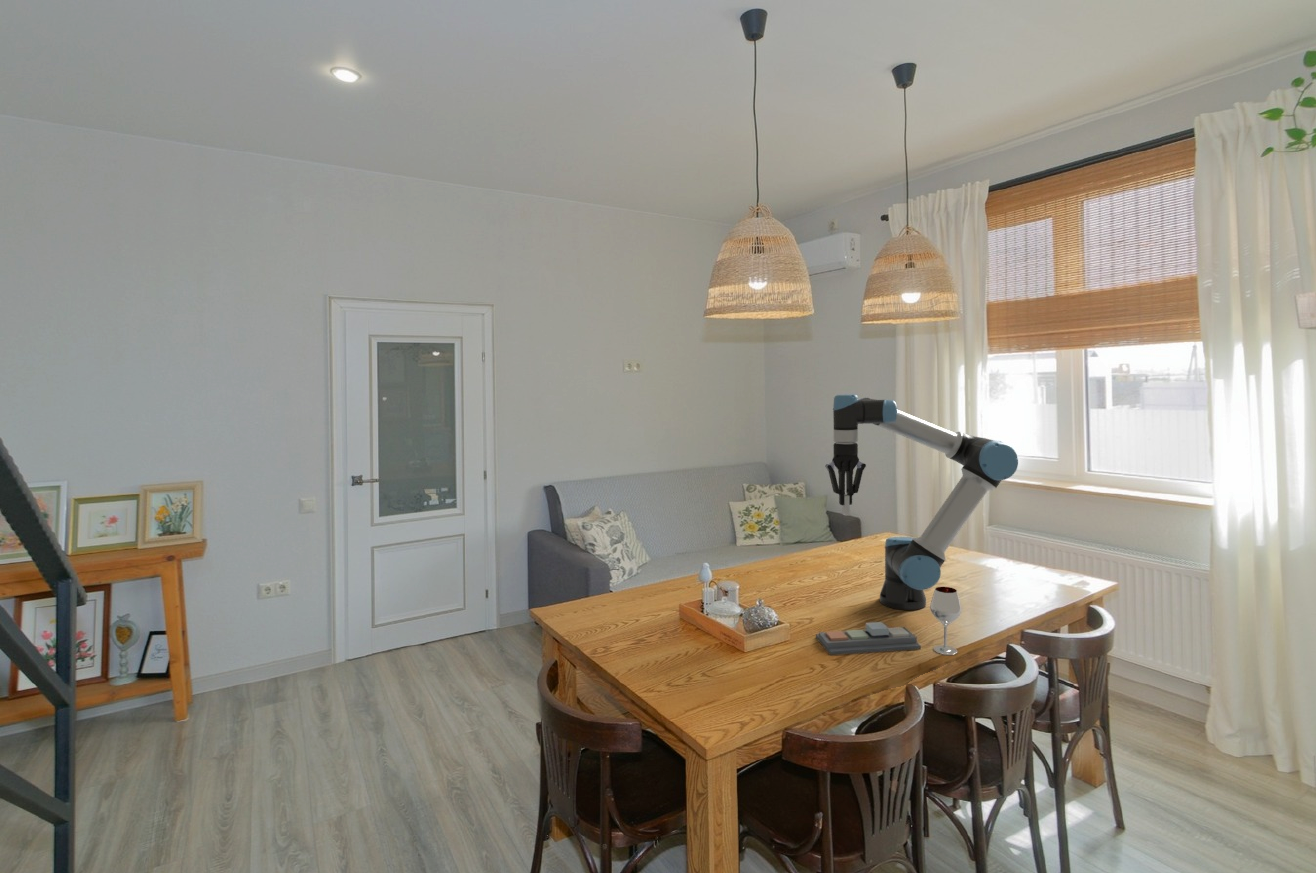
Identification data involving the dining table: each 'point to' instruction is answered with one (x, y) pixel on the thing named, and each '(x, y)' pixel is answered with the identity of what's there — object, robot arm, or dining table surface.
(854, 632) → the key sage
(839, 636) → the key terracotta
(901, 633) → the key ivory
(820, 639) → the keypad
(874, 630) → the key bluegrey
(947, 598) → the wineglass
